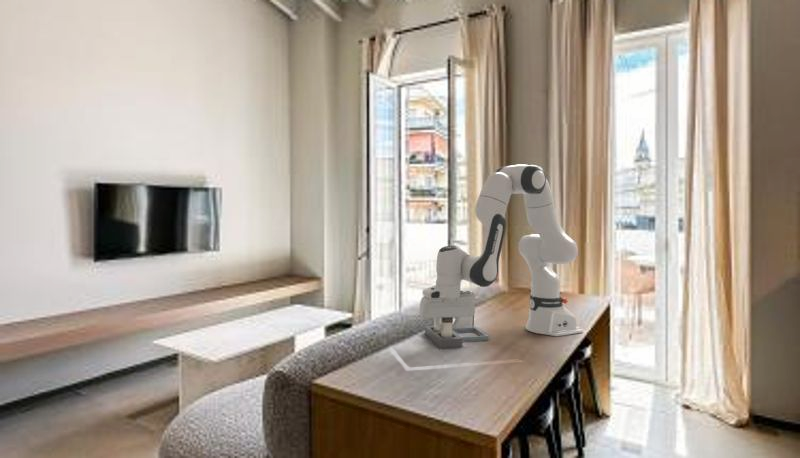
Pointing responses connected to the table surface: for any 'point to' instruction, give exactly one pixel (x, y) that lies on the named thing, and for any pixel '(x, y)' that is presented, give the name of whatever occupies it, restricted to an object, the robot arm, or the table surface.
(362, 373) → the table surface
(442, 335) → the cylinder
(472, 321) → the medicine bottle
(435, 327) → the dome-capped cream cylinder
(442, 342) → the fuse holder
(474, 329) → the parts tray
